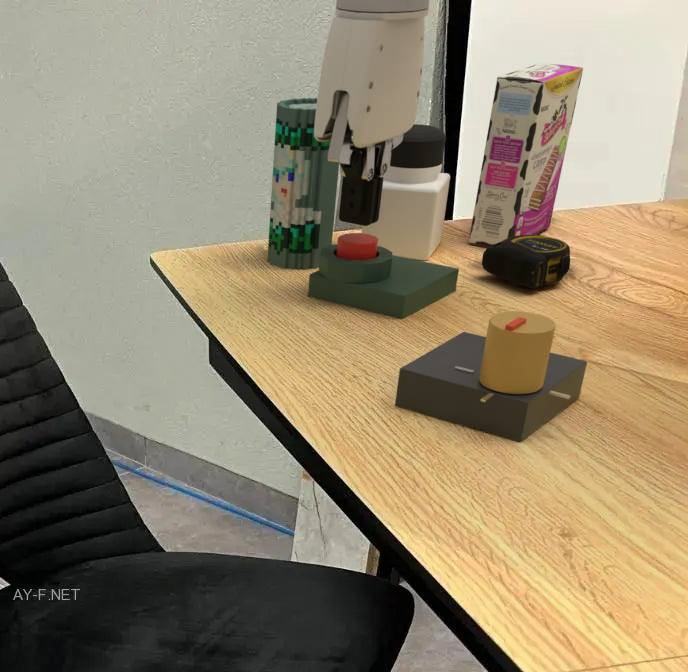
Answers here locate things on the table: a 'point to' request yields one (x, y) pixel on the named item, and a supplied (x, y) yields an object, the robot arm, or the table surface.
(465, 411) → the plate
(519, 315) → the lock knob
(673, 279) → the table surface
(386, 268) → the button block
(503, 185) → the candy bar box
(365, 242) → the button
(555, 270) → the tape measure
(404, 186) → the medicine bottle
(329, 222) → the can
